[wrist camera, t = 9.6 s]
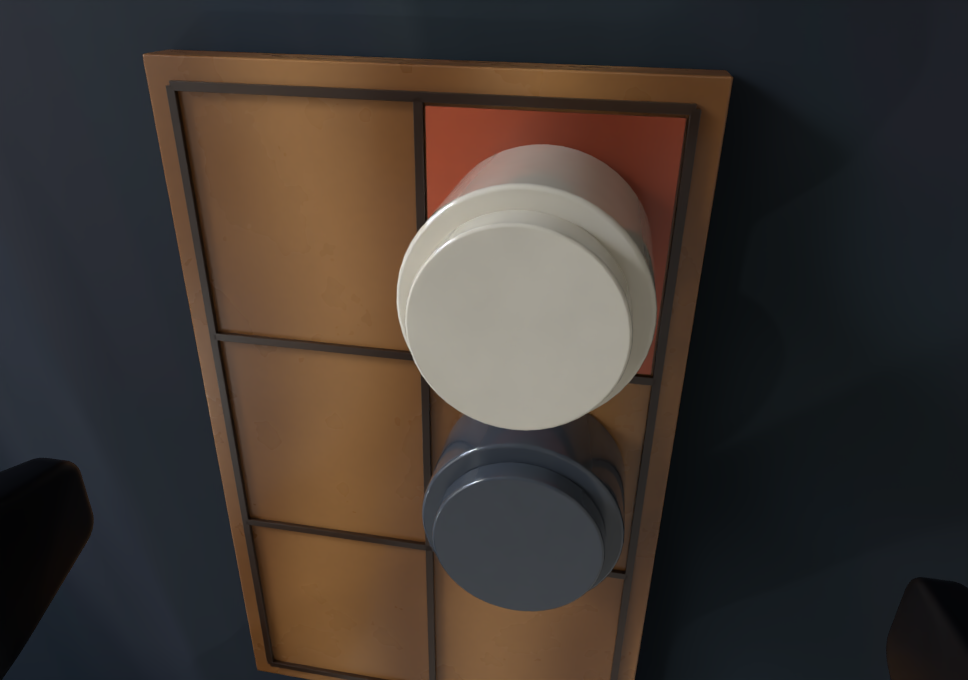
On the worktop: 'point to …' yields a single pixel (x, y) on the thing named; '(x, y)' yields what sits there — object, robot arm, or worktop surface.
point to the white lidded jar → (531, 289)
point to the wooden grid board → (381, 345)
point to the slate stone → (527, 511)
